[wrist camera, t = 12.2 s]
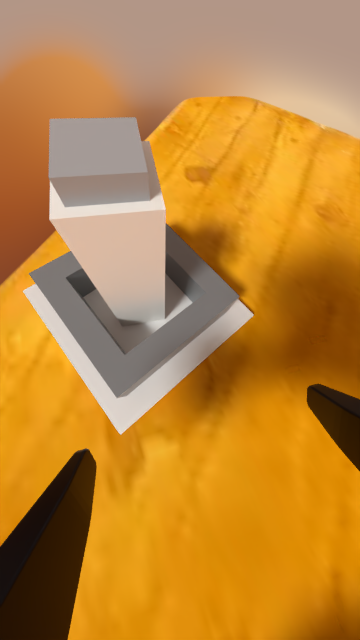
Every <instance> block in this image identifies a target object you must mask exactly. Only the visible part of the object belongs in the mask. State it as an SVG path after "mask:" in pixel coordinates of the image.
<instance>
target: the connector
mask: <svg viewBox="0 0 360 640" xmlns="http://www.w3.org/2000/svg"><path fill="white" fill-rule="evenodd" d="M49 139H50V140H49V179H50V221H51V222H52V224H53V225H54V227H55V228H56V230H57V231H58V233H59V234H60V236H61V237H62V239H63V240H64V241H65V243H66V244H67V246H68V247H69V249H70V250H71V252H72V253H73V255H74V256H75V258H76V259H77V261H78V262H79V264H80V265H81V266H82V268H83V269H84V271H85V272H86V274H87V275H88V277H89V278H90V280H91V281H92V283H93V284H94V286H95V287H96V288H97V290H98V291H99V293H100V294H101V296H102V297H103V299H104V300H105V302H106V303H107V305H108V306H109V308H110V309H111V311H112V312H113V313H114V315H115V316H116V318H117V319H118V321H119V322H120V324H121V325H122V327H123V326H129V325H135V324H141V323H147V322H153V321H158V320H164V319H165V227H166V209H165V205H164V201H163V197H162V192H161V188H160V184H159V180H158V176H157V172H156V168H155V164H154V159H153V155H152V151H151V147H150V143H149V141H141V139H140V135H139V130H138V125H137V121H136V118H81V119H79V118H78V119H50V138H49Z"/></svg>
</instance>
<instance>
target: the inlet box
mask: <svg viewBox="0 0 360 640" xmlns="http://www.w3.org/2000/svg"><path fill="white" fill-rule="evenodd" d="M29 275H30V276H31V277H32V279H33V280H34V282H35V283H36V284H34V285H33V286H31V287H29V288H27V289H25V290H24V291H23V292H24V294H25V295H26V297H27V298H28V299H29V301H30V302H31V304H32V305H33V307H34V308H35V310H36V311H37V313H38V314H39V316H40V317H41V319H42V320H43V322H44V323H45V325H46V326H47V328H48V329H49V330H50V332H51V333H52V335H53V336H54V338H55V339H56V341H57V342H58V344H59V345H60V347H61V348H62V350H63V351H64V353H65V354H66V356H67V357H68V359H69V360H70V361H71V363H72V364H73V366H74V367H75V369H76V370H77V372H78V373H79V375H80V376H81V378H82V379H83V381H84V382H85V384H86V385H87V387H88V388H89V390H90V391H91V392H92V394H93V395H94V397H95V398H96V400H97V401H98V403H99V404H100V406H101V407H102V409H103V410H104V412H105V413H106V415H107V416H108V418H109V419H110V420H111V422H112V423H113V425H114V426H115V428H116V429H117V431H118V432H119V434H120V435H121V434H122V433H123V432H124V431H125V430H127V429H128V428H129V427H130V426H131V425H132V424H133V423H134V422H135V421H137V420H138V419H139V418H140V417H141V416H142V415H143V414H144V413H146V412H147V411H148V410H149V409H150V408H151V407H152V406H153V405H154V404H156V403H157V402H158V401H159V400H160V399H161V398H162V397H163V396H164V395H166V394H167V393H168V392H169V391H170V390H171V389H172V388H173V387H174V386H176V385H177V384H178V383H179V382H180V381H181V380H182V379H183V378H184V377H186V376H187V375H188V374H189V373H190V372H191V371H192V370H193V369H195V368H196V367H197V366H198V365H199V364H200V363H201V362H202V361H203V360H205V359H206V358H207V357H208V356H209V355H210V354H211V353H212V352H213V351H215V350H216V349H217V348H218V347H219V346H220V345H221V344H222V343H223V342H225V341H226V340H227V339H228V338H229V337H230V336H231V335H232V334H234V333H235V332H236V331H237V330H238V329H239V328H240V327H241V326H242V325H244V324H245V323H246V322H247V321H248V320H249V319H250V318H251V317H252V316H254V314H253V313H252V312H251V311H250V310H249V309H248V308H247V307H246V306H245V305H244V304H243V303H242V302H241V301H240V300H239V299H238V298H239V295H238V294H237V293H236V292H235V291H234V290H233V289H232V288H231V287H230V286H229V285H228V284H227V283H226V282H225V281H224V280H223V279H222V278H221V277H220V276H219V275H218V274H217V273H216V272H215V271H214V270H213V269H212V268H211V267H210V266H209V265H208V264H207V263H206V262H205V261H204V260H202V259H201V258H200V257H199V256H198V255H197V254H196V253H195V252H194V251H193V250H192V249H191V248H190V247H189V246H188V245H187V244H186V243H185V242H184V241H183V240H182V239H181V238H180V237H179V236H178V235H177V234H176V233H175V232H174V231H173V230H172V229H171V228H170V227H169V226H168V225H167V224H166V227H165V319H164V320H158V321H153V322H147V323H141V324H135V325H129V326H123V327H122V325H121V324H120V322H119V321H118V319H117V318H116V316H115V315H114V313H113V312H112V311H111V309H110V308H109V306H108V305H107V303H106V302H105V300H104V299H103V297H102V296H101V294H100V293H99V291H98V290H97V288H96V287H95V286H94V284H93V283H92V281H91V280H90V278H89V277H88V275H87V274H86V272H85V271H84V269H83V268H82V266H81V265H80V264H79V262H78V261H77V259H76V258H75V256H74V255H73V253H72V252H71V251H70V252H68V253H66V254H64V255H62V256H60V257H59V258H57V259H55V260H53V261H51V262H49V263H47V264H46V265H44V266H42V267H40V268H38V269H36V270H34V271H33V272H31V273H29Z"/></svg>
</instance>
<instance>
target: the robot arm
mask: <svg viewBox="0 0 360 640" xmlns="http://www.w3.org/2000/svg"><path fill="white" fill-rule="evenodd" d="M307 404H308V406H309V408H310V409H311V410H312V412H313V413H314V414H315V416H316V417H317V419H318V420H319V421H320V423H321V424H322V425H323V427H324V428H325V430H326V431H327V432H328V434H329V435H330V436H331V438H332V439H333V440H334V442H335V443H336V444H337V446H338V447H339V448H340V449H341V450H342V451H343V453H344V454H345V455H346V456H347V457H348V458H349V460H350V461H351V462H352V463H353V464H354V465H355V467H356V468H357V469H358V470H359V471H360V399H357V398H355V397H352V396H350V395H347V394H344V393H342V392H339V391H337V390H334V389H331V388H329V387H326V386H324V385H321V384H314V385H311V386H308V388H307ZM95 477H96V462H95V460H94V458H93V456H92V454H91V453H90V451H89V449H83V450H79V451H77V452H75V453H74V454H73V456H72V457H71V458H70V459H69V461H68V462H67V463H66V465H65V466H64V467H63V468H62V470H61V471H60V472H59V473H58V475H57V476H56V477H55V478H54V480H53V481H52V482H51V483H50V485H49V486H48V487H47V488H46V490H45V491H44V492H43V493H42V495H41V496H40V497H39V499H38V500H37V501H36V502H35V504H34V505H33V506H32V507H31V509H30V510H29V511H28V512H27V514H26V515H25V516H24V517H23V519H22V520H21V521H20V522H19V524H18V525H17V526H16V527H15V529H14V530H13V531H12V533H11V534H10V535H9V536H8V538H7V539H6V540H5V541H4V543H3V544H2V545H1V546H0V640H67V639H68V634H69V629H70V624H71V619H72V614H73V609H74V603H75V598H76V593H77V588H78V583H79V578H80V573H81V567H82V562H83V557H84V552H85V547H86V542H87V537H88V531H89V526H90V520H91V513H92V504H93V495H94V486H95Z"/></svg>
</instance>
